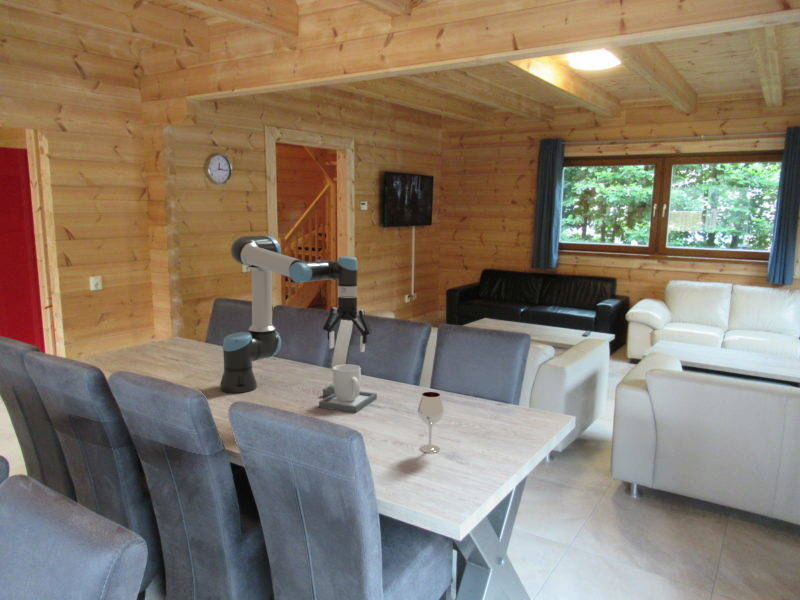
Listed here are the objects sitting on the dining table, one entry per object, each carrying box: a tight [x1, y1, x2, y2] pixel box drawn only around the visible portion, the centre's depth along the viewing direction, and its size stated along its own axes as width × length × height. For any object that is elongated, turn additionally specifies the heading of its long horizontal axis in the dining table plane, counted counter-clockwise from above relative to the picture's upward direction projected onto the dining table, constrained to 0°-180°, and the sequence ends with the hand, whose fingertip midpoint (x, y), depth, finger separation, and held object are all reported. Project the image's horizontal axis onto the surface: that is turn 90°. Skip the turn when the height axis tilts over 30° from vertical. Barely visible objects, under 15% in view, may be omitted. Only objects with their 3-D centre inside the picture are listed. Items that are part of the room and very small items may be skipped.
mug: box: [332, 363, 362, 402], centre depth 230 cm, size 15×11×13 cm
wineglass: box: [417, 391, 445, 454], centre depth 185 cm, size 8×8×18 cm
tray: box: [318, 390, 378, 413], centre depth 232 cm, size 16×19×2 cm
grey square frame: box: [322, 385, 335, 398], centre depth 242 cm, size 7×7×3 cm
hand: (347, 349), depth 230 cm, fingers open, 13 cm apart
